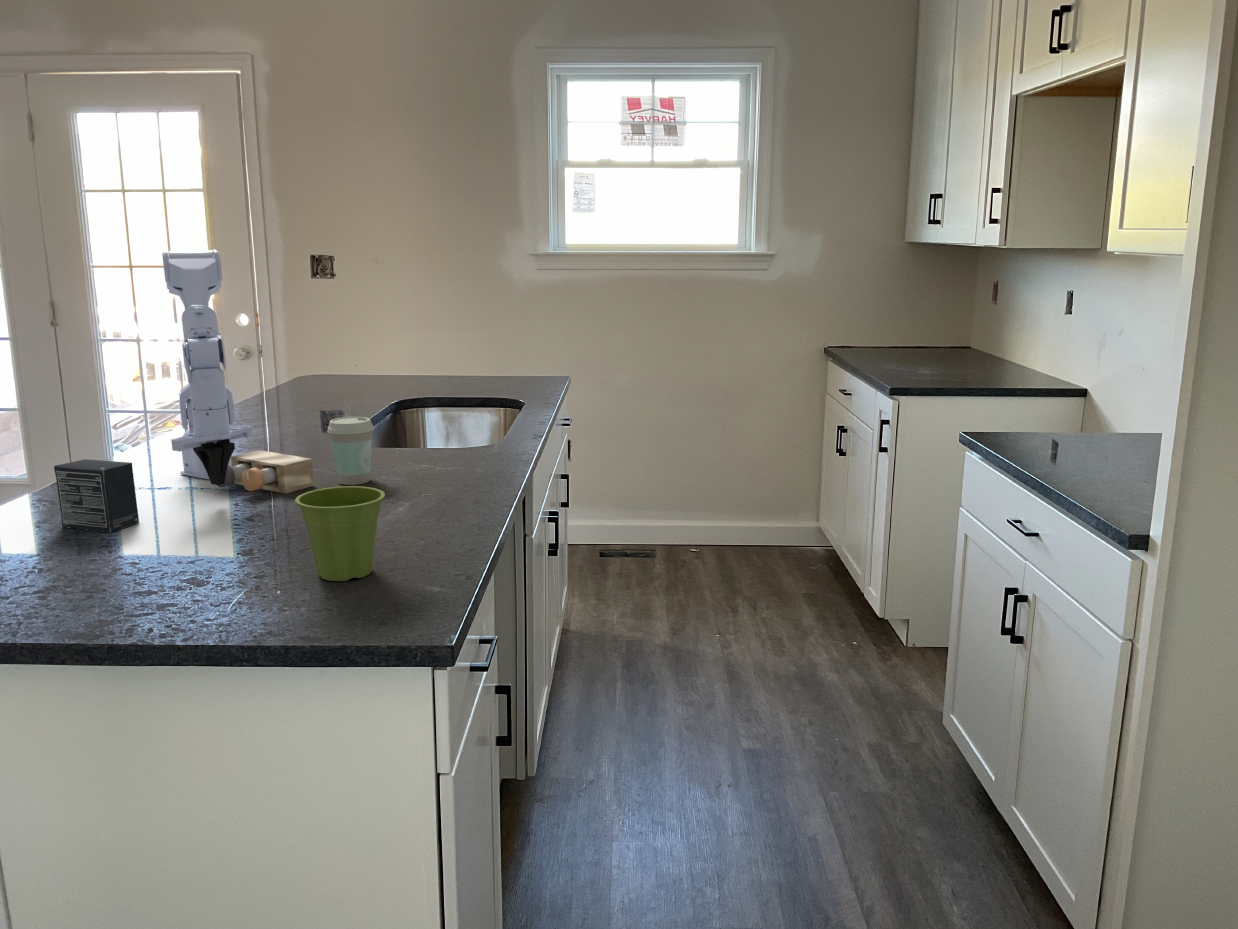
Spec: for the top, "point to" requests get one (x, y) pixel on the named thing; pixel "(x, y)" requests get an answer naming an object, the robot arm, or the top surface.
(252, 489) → the orange knob
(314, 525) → the plant pot
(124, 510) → the small box
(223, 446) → the robot arm
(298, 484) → the mount
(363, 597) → the top surface
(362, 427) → the coffee cup
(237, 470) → the charcoal knob
